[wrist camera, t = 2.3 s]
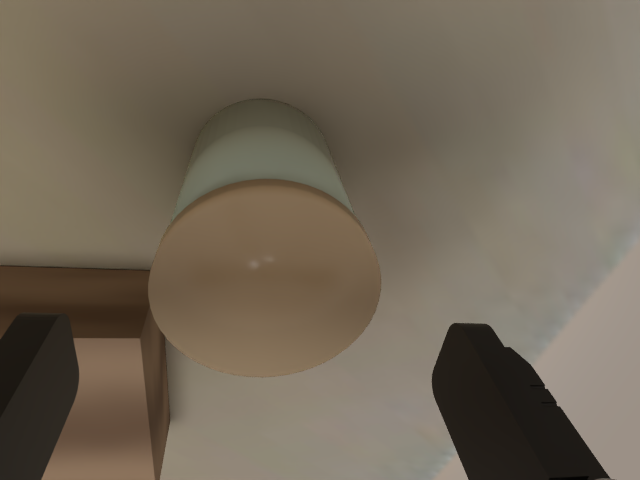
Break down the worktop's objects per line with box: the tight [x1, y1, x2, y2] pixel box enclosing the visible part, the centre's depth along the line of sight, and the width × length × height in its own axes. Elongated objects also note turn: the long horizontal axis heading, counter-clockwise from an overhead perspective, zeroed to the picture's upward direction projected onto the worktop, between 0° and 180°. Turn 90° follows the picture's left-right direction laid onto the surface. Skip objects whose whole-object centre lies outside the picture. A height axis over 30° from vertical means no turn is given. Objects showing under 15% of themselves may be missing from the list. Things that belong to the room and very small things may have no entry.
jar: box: [148, 99, 381, 377], centre depth 14 cm, size 5×5×8 cm
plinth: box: [0, 266, 170, 480], centre depth 19 cm, size 10×10×4 cm
